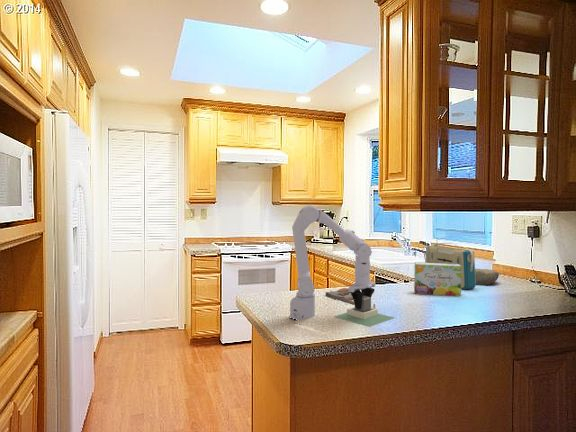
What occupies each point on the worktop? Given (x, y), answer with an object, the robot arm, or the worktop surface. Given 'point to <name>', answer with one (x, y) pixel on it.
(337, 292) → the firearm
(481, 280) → the stone
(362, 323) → the board
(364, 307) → the plug
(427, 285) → the snack box
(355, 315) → the socket
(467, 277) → the radio
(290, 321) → the worktop surface
